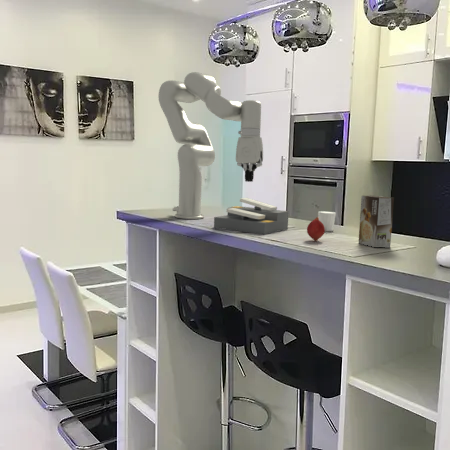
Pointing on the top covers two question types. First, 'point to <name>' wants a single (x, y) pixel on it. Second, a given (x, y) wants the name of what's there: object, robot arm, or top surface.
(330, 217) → the white cup
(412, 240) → the top surface
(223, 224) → the switch console
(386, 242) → the coffee box
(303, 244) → the top surface
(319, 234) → the onion
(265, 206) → the rear rocker
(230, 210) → the bar
